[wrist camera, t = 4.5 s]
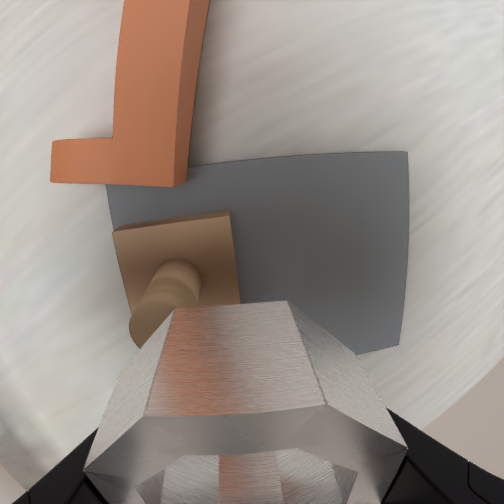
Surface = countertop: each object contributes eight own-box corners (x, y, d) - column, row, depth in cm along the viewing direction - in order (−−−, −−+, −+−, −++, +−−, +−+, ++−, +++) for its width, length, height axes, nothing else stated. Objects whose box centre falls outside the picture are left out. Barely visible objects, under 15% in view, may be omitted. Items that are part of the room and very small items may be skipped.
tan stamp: (242, 312, 19) (248, 385, 12) (143, 322, 18) (113, 392, 12) (229, 210, 17) (229, 244, 11) (121, 225, 16) (68, 265, 10)
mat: (395, 340, 21) (398, 345, 20) (155, 374, 20) (154, 379, 20) (402, 151, 17) (407, 151, 16) (109, 181, 16) (105, 182, 16)
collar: (337, 450, 9) (364, 528, 6) (159, 464, 9) (147, 544, 6) (361, 291, 8) (435, 378, 4) (103, 311, 7) (42, 405, 4)
